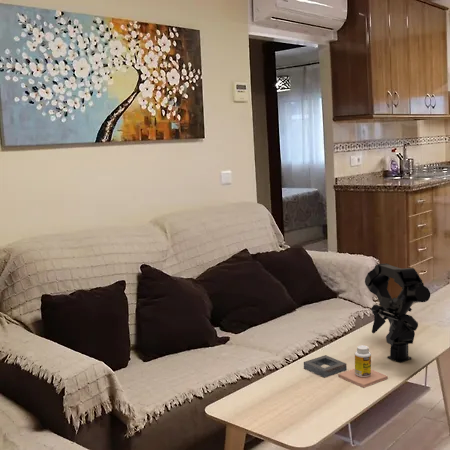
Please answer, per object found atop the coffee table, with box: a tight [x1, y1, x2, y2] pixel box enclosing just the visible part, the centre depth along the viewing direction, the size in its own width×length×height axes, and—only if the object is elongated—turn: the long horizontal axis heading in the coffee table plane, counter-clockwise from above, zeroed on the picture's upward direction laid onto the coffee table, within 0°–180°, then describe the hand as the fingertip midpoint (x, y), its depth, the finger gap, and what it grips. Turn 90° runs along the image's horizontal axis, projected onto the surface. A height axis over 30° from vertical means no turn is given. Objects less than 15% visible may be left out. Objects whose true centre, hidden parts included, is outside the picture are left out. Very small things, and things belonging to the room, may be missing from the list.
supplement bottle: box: [354, 344, 372, 377], centre depth 208 cm, size 6×6×10 cm
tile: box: [337, 368, 389, 388], centre depth 209 cm, size 12×12×1 cm
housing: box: [303, 354, 348, 378], centre depth 218 cm, size 11×11×2 cm
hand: (381, 336), depth 211 cm, fingers open, 9 cm apart
